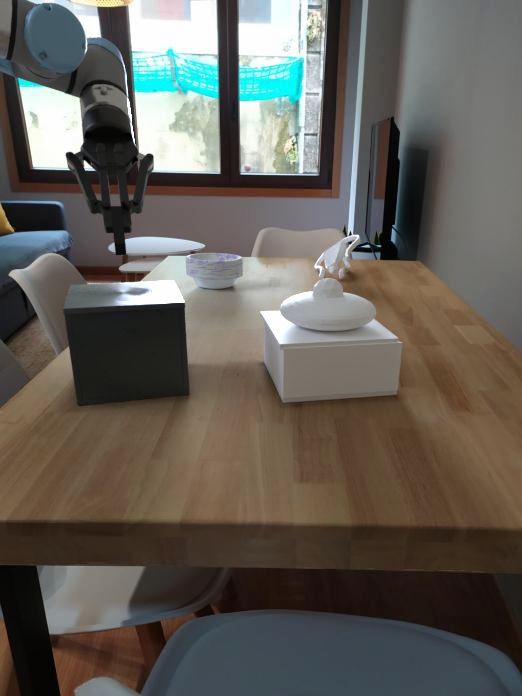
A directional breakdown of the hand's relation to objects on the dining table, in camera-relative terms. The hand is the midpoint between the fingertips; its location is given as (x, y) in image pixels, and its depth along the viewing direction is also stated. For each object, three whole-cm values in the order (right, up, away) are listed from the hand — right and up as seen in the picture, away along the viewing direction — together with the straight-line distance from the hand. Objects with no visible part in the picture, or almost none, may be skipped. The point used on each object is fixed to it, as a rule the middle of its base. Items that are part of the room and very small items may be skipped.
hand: (120, 249), depth 77 cm
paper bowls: (+4, +8, +71) cm, 72 cm away
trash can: (0, -19, +7) cm, 20 cm away
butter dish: (+30, -18, +11) cm, 36 cm away
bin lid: (0, -7, +2) cm, 7 cm away
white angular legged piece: (+39, +14, +88) cm, 98 cm away
